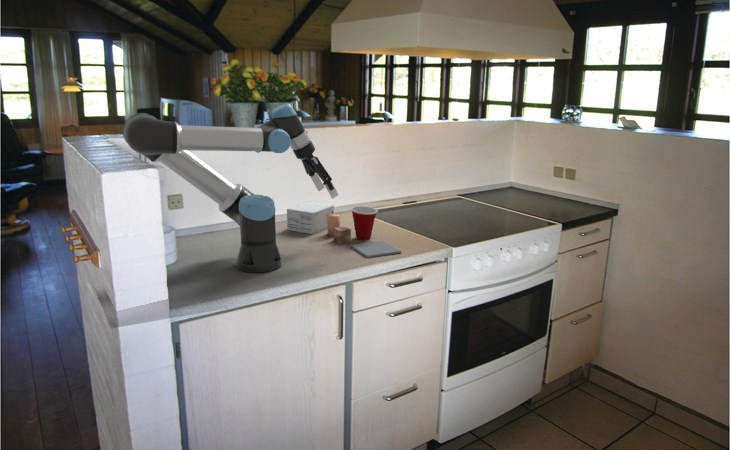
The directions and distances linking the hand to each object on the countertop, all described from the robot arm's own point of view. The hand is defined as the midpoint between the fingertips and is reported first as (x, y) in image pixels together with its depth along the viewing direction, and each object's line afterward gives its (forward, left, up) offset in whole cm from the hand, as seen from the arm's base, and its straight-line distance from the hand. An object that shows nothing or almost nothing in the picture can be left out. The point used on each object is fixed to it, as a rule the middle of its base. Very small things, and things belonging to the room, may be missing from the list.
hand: (328, 193), depth 207 cm
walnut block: (+6, +1, -20) cm, 21 cm away
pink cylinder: (+7, +11, -20) cm, 24 cm away
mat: (+13, -15, -20) cm, 28 cm away
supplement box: (+2, +24, -20) cm, 32 cm away
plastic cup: (+16, +1, -20) cm, 26 cm away
